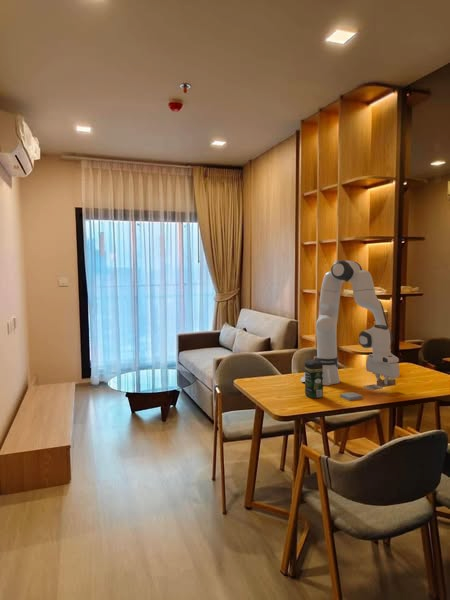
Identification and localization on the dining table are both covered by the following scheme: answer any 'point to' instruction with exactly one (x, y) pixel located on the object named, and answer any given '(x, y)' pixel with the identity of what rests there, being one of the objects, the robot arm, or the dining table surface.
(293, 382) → the dining table surface
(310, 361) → the coffee jar
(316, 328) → the robot arm
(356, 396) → the tile
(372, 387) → the turner
